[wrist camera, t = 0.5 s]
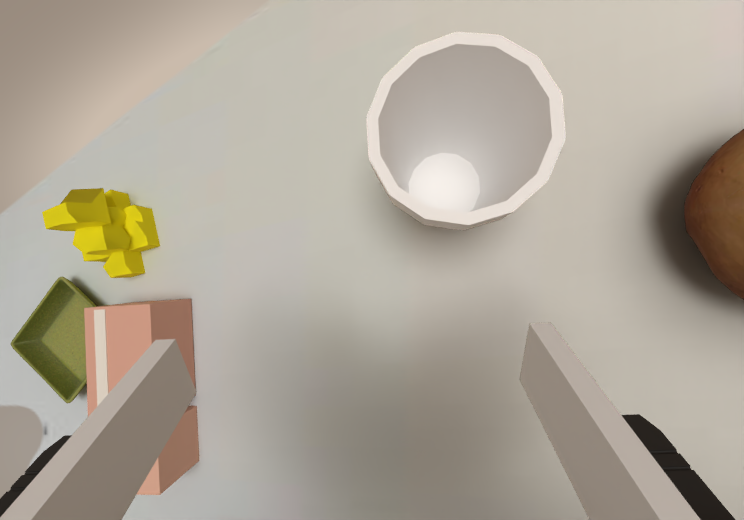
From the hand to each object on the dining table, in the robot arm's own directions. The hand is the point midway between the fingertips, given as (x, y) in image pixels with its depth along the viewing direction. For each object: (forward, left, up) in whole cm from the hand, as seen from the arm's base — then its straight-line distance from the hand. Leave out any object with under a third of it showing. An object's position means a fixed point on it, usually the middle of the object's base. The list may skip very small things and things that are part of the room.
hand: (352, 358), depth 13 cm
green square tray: (-1, +31, -18) cm, 35 cm away
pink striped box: (-3, +22, -17) cm, 28 cm away
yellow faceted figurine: (+8, +25, -17) cm, 32 cm away
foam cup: (+10, -5, -17) cm, 20 cm away
